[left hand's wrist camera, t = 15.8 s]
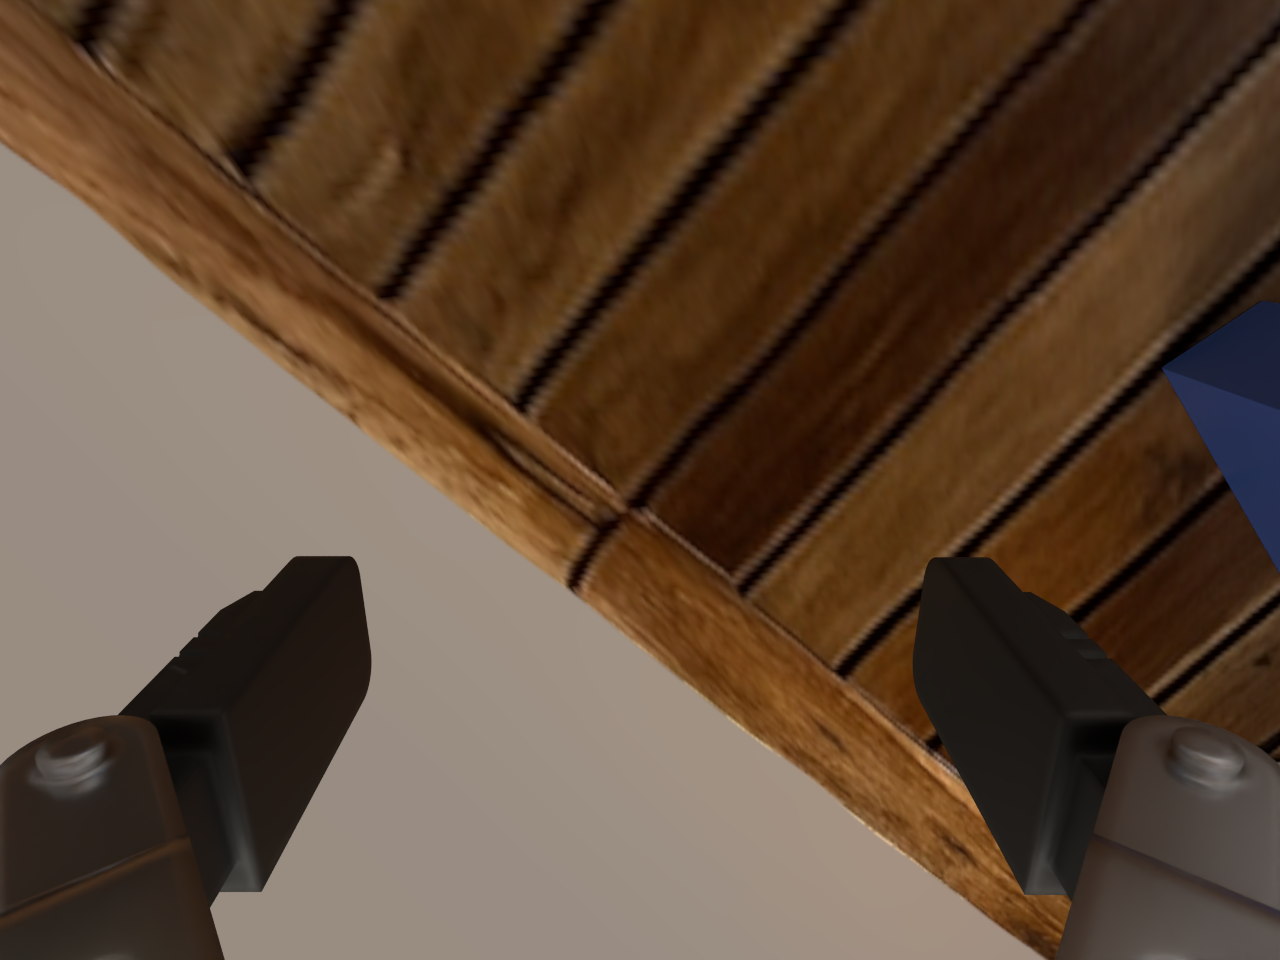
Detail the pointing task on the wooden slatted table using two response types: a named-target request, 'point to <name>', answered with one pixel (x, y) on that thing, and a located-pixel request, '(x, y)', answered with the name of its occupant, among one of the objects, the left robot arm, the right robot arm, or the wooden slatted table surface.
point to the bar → (1240, 410)
